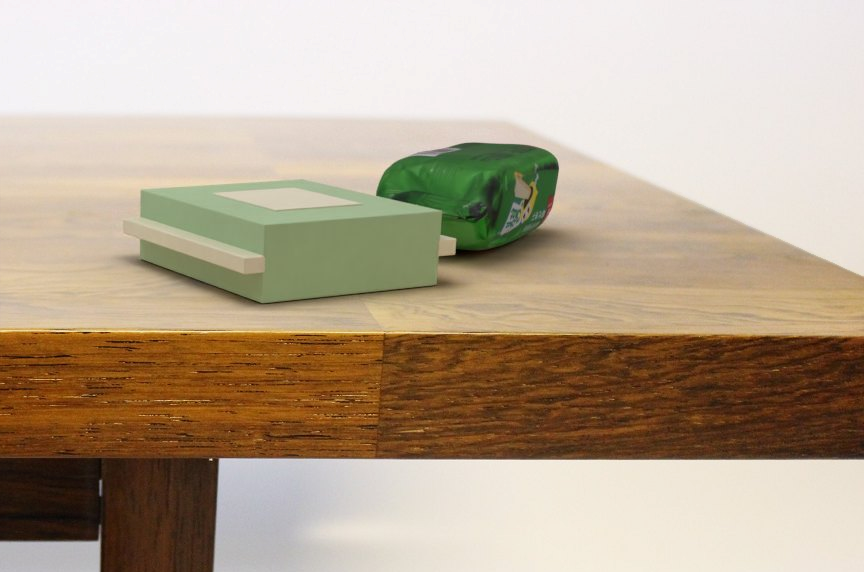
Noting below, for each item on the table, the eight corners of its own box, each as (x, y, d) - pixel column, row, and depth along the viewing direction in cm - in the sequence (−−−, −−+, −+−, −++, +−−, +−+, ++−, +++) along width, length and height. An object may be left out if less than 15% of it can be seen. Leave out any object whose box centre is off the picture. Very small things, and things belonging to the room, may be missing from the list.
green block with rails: (314, 243, 82) (318, 176, 81) (453, 283, 72) (459, 207, 71) (122, 260, 77) (122, 189, 76) (242, 305, 67) (245, 224, 66)
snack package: (350, 257, 79) (356, 157, 77) (454, 217, 91) (461, 130, 90) (479, 273, 75) (488, 169, 73) (568, 229, 88) (578, 140, 86)
